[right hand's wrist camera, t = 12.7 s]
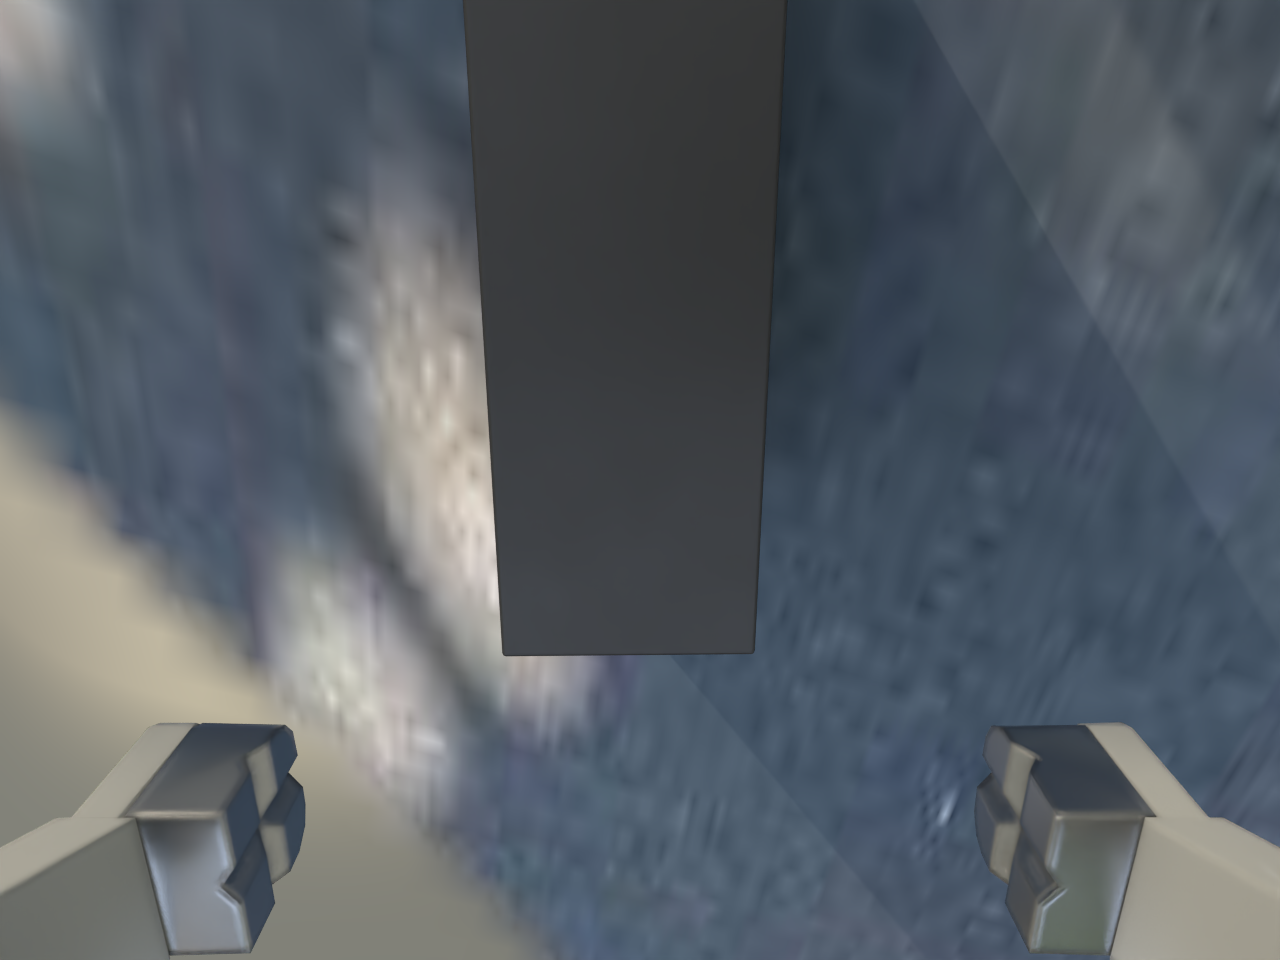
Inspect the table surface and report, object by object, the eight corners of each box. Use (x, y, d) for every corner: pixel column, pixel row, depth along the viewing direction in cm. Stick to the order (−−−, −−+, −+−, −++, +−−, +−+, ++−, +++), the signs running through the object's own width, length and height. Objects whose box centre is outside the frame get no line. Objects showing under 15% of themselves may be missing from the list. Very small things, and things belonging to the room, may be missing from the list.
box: (714, 502, 31) (754, 655, 22) (539, 503, 31) (501, 657, 21) (739, -310, 23) (819, -632, 14) (505, -313, 23) (423, -637, 14)
